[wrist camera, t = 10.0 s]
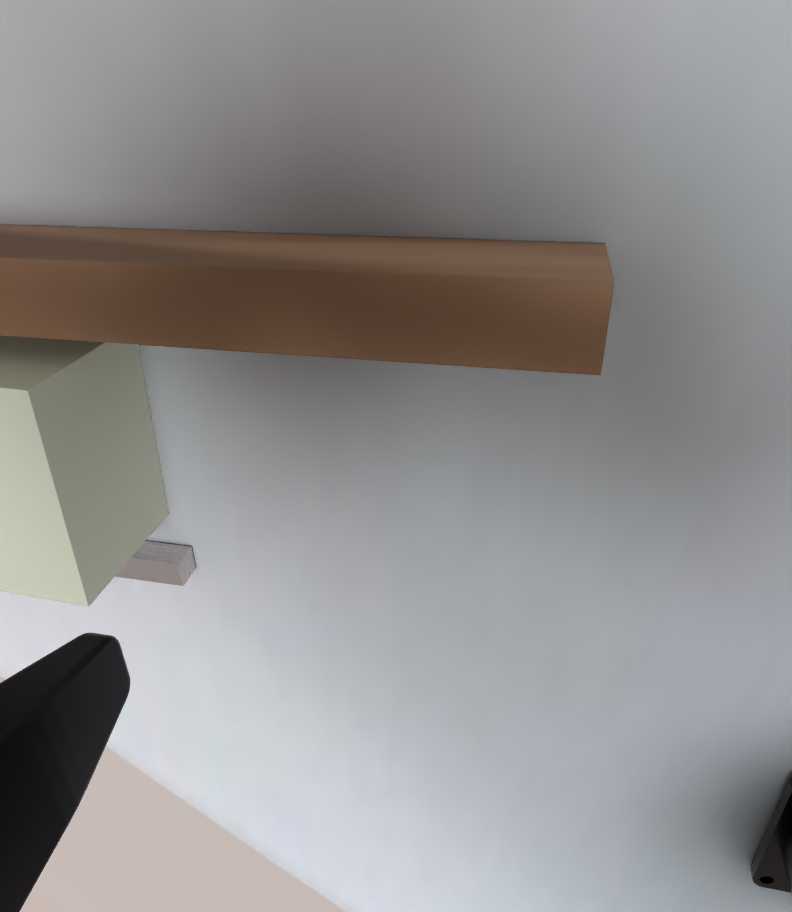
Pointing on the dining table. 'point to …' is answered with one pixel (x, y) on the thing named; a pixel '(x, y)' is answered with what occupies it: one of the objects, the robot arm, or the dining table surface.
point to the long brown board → (312, 295)
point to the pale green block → (74, 466)
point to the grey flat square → (160, 563)
